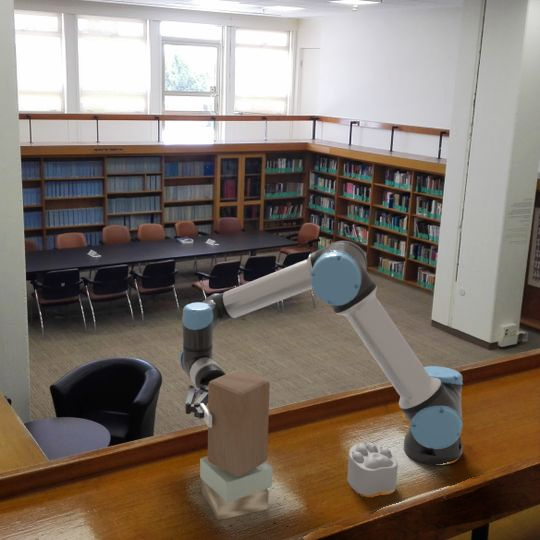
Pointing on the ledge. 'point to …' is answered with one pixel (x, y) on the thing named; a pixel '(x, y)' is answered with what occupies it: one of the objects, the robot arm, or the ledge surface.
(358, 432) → the ledge surface
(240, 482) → the tower top
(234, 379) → the block
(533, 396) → the ledge surface
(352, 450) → the lumpy-topped squat cylinder
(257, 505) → the tower bottom
